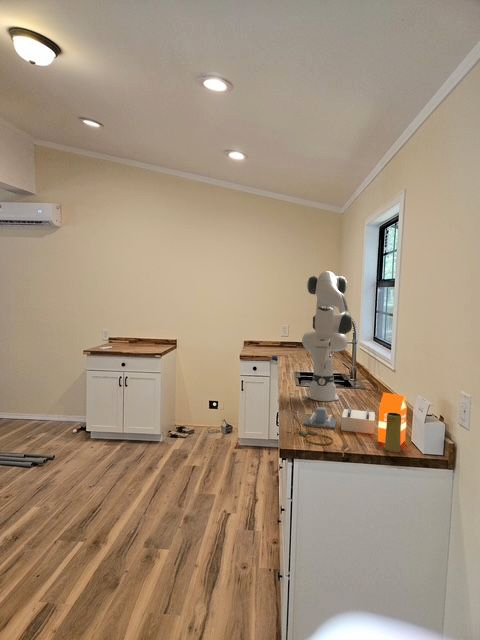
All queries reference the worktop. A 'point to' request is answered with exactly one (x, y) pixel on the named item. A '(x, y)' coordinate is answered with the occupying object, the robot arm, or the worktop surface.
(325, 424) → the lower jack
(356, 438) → the worktop surface
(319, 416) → the plug
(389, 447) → the vase
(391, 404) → the orange juice
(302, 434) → the coiled cable
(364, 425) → the block
